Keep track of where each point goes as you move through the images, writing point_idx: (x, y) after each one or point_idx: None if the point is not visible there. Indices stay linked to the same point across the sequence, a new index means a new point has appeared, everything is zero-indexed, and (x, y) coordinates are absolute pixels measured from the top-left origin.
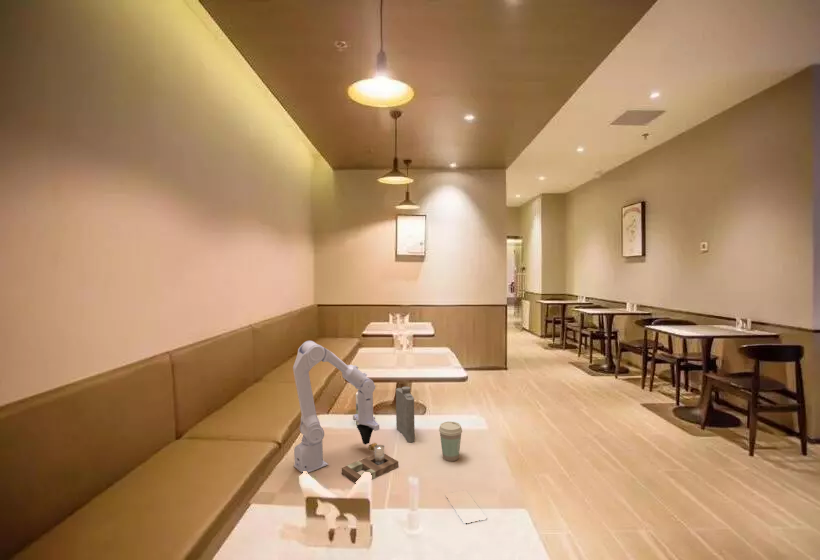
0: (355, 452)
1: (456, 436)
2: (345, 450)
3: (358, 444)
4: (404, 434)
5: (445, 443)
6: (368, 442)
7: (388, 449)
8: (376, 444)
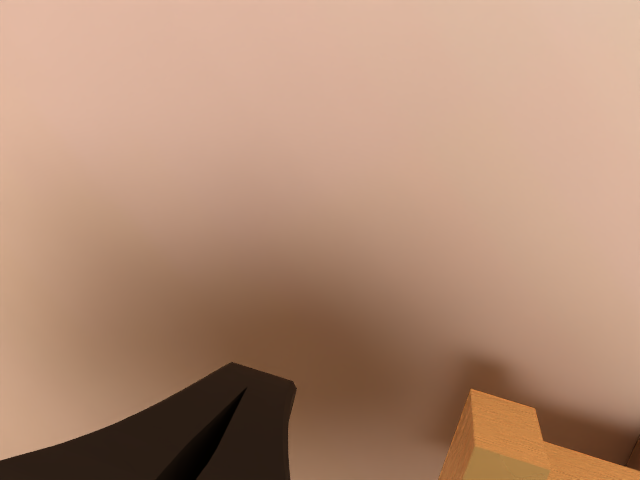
0: None
1: None
2: None
3: (44, 238)
4: None
5: None
6: (289, 412)
7: (618, 114)
8: (542, 478)
